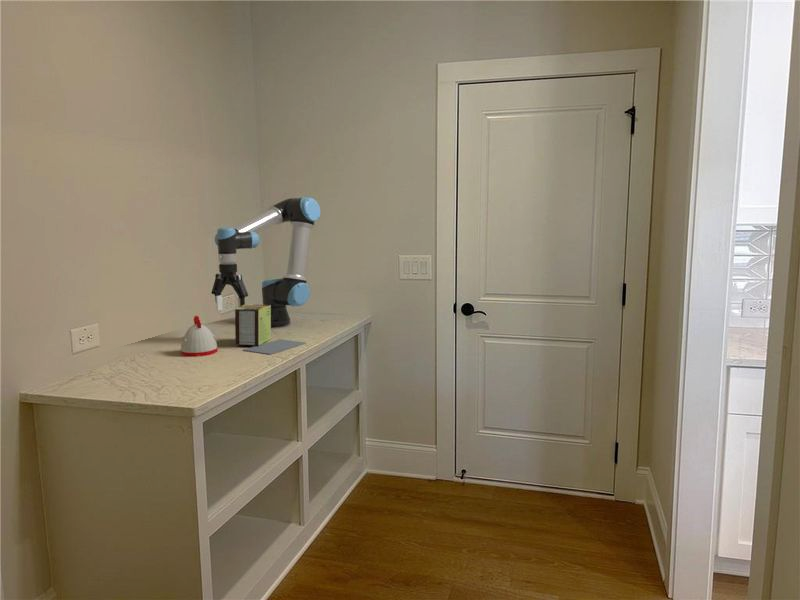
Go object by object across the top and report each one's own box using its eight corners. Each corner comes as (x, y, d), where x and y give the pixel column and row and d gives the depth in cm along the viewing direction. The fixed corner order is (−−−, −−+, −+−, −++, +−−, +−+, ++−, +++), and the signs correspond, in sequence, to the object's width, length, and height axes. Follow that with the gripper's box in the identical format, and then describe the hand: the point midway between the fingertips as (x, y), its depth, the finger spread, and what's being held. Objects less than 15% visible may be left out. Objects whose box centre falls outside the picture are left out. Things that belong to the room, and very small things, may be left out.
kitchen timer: (212, 346, 228) (210, 312, 226) (221, 353, 217) (219, 316, 215) (177, 351, 221) (175, 315, 218) (185, 358, 209) (182, 320, 207)
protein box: (271, 339, 241) (271, 304, 239) (258, 346, 226) (258, 309, 224) (248, 337, 242) (248, 303, 240) (234, 344, 227) (234, 308, 225)
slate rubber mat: (279, 339, 240) (279, 339, 239) (306, 343, 232) (306, 342, 232) (242, 350, 221) (242, 349, 221) (270, 354, 213) (270, 353, 213)
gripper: (201, 262, 238) (204, 310, 241) (242, 265, 225) (244, 315, 229) (214, 261, 244) (217, 307, 247) (255, 263, 232) (257, 312, 235)
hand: (230, 311), depth 238 cm, fingers open, 13 cm apart
